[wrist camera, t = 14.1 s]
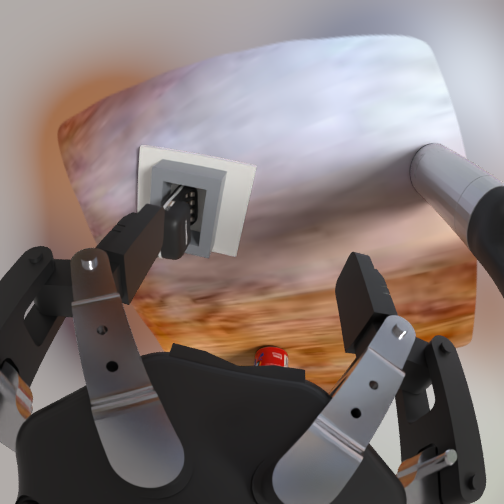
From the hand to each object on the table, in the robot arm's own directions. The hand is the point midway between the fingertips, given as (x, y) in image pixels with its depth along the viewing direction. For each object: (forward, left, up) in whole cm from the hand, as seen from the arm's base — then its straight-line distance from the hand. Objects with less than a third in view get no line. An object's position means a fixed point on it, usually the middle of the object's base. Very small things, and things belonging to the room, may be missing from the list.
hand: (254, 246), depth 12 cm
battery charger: (+10, +14, -29) cm, 34 cm away
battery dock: (+10, +14, -30) cm, 35 cm away
